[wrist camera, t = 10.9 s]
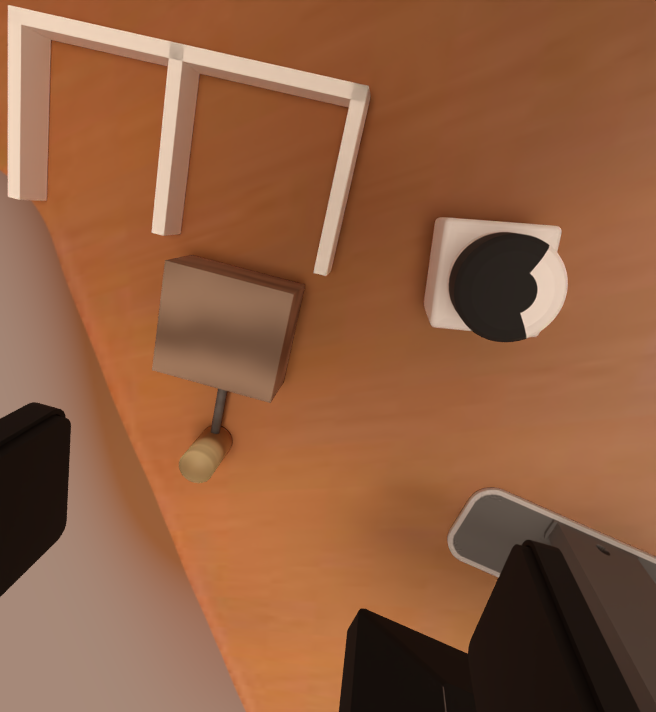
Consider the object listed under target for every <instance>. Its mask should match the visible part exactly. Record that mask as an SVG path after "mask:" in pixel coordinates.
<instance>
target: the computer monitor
mask: <svg viewBox="0 0 656 712" xmlns="http://www.w3.org/2000/svg"><path fill="white" fill-rule="evenodd" d="M525 540H533V541H536V542H540V543H543V544H547V545H551V546H554V547H557V548H559V549H560V551H561V552H562V554H563V556H564V558H565V560H566V562H567V564H568V566H569V568H570V570H571V572H572V574H573V576H574V578H575V580H576V582H577V584H578V586H579V588H580V590H581V592H582V594H583V596H584V598H585V600H586V602H587V604H588V606H589V609H590V611H591V613H592V615H593V617H594V619H595V621H596V623H597V625H598V627H599V629H600V631H601V633H602V635H603V637H604V639H605V641H606V643H607V645H608V647H609V649H610V651H611V653H612V655H613V657H614V659H615V661H616V663H617V665H618V667H619V669H620V671H621V673H622V675H623V677H624V679H625V681H626V683H627V686H628V688H629V690H630V692H631V694H632V696H633V698H634V700H635V702H636V704H637V706H638V708H639V710H640V712H656V556H653V555H651V554H649V553H646V552H644V551H642V550H640V549H637V548H635V547H633V546H630V545H628V544H626V543H624V542H621V541H619V540H617V539H615V538H612V537H610V536H608V535H605V534H603V533H601V532H599V531H596V530H594V529H592V528H589V527H587V526H585V525H583V524H580V523H578V522H576V521H573V520H571V519H569V518H567V517H564V516H562V515H560V514H557V513H555V512H553V511H551V510H548V509H546V508H544V507H542V506H539V505H537V504H535V503H532V502H530V501H528V500H526V499H523V498H521V497H519V496H516V495H514V494H512V493H510V492H507V491H505V490H503V489H500V488H494V487H490V488H484V489H481V490H479V491H477V492H475V493H474V494H473V495H472V496H471V497H470V498H469V500H468V501H467V503H466V505H465V506H464V508H463V509H462V511H461V513H460V514H459V516H458V517H457V519H456V521H455V522H454V524H453V525H452V527H451V529H450V530H449V532H448V536H447V541H448V547H449V549H450V551H451V553H452V554H453V555H454V556H455V557H456V558H457V559H458V560H460V561H462V562H464V563H467V564H469V565H471V566H473V567H476V568H478V569H480V570H483V571H485V572H487V573H489V574H492V575H494V576H496V577H499V576H500V574H501V571H502V569H503V567H504V565H505V562H506V560H507V558H508V556H509V554H510V551H511V549H512V548H513V546H514V545H515V544H519V545H522V544H523V542H524V541H525ZM339 712H477V711H476V705H475V699H474V693H473V687H472V681H471V675H470V669H469V663H468V654H467V653H465V652H462V651H460V650H458V649H456V648H453V647H451V646H449V645H446V644H444V643H442V642H440V641H437V640H435V639H433V638H430V637H428V636H426V635H424V634H421V633H419V632H417V631H414V630H412V629H410V628H408V627H405V626H403V625H401V624H399V623H396V622H394V621H392V620H389V619H387V618H385V617H383V616H380V615H378V614H376V613H373V612H371V611H369V610H367V609H360V610H359V611H358V613H357V615H356V617H355V618H354V620H353V622H352V623H351V625H350V627H349V629H348V631H347V639H346V649H345V659H344V668H343V678H342V687H341V697H340V707H339Z"/></svg>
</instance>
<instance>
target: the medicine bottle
mask: <svg viewBox="0 0 656 712" xmlns="http://www.w3.org/2000/svg"><path fill="white" fill-rule="evenodd" d="M561 233H562V232H561V228H560V227H558V226H553V225H540V224H527V223H513V222H500V221H487V220H474V219H461V218H447V217H439V218H437V219H436V221H435V225H434V232H433V240H432V247H431V254H430V261H429V269H428V276H427V283H426V290H425V297H424V308H425V311H426V313H427V316H428V319H429V322H430V324H431V326H433V327H437V328H446V329H456V330H466V331H473V332H474V333H476V334H477V335H479V336H481V337H483V338H486V339H488V340H492V341H497V342H514V341H520V340H523V339H526V338H529V337H536V336H538V335H539V332H540V331H542V330H543V329H544V328H546V327H547V326H548V325H549V324H550V323H551V322H552V321H553V320H554V319H555V317H556V316H557V315H558V313H559V311H560V310H561V308H562V306H563V303H564V301H565V298H566V294H567V287H568V280H567V272H566V269H565V266H564V263H563V261H562V259H561V257H560V256H559V254H558V253H557V251H558V246H559V242H560V237H561Z"/></svg>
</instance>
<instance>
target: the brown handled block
mask: <svg viewBox="0 0 656 712" xmlns="http://www.w3.org/2000/svg"><path fill="white" fill-rule="evenodd" d="M304 289H305V285H304V284H301V283H297V282H293V281H289V280H285V279H282V278H278V277H274V276H270V275H266V274H262V273H259V272H255V271H251V270H247V269H243V268H240V267H236V266H232V265H228V264H224V263H220V262H217V261H213V260H209V259H205V258H201V257H198V256H194V255H189V256H184V257H179V258H175V259H170V260H165V266H164V275H163V283H162V291H161V300H160V308H159V316H158V325H157V333H156V342H155V350H154V358H153V367H152V370H154V371H157V372H161V373H164V374H168V375H172V376H175V377H179V378H182V379H186V380H190V381H193V382H197V383H200V384H204V385H208V386H211V387H215V388H218V392H217V398H216V404H215V410H214V415H213V421H212V426H210V427H208V428H206V429H205V430H204V431H203V433H202V434H201V435H200V436H199V437H198V438H197V440H196V441H195V442H194V443H193V444H192V445H191V447H190V448H189V449H188V450H187V451H186V452H185V454H184V455H183V456H182V457H181V459H180V461H179V469H180V472H181V473H182V475H183V476H184V477H185V478H186V479H187V480H189V481H191V482H194V483H203V482H206V481H207V480H209V479H210V478H211V476H212V475H213V473H214V472H215V470H216V469H217V467H218V466H219V464H220V463H221V461H222V460H223V459H224V457H225V456H226V454H227V453H228V451H229V450H230V448H231V446H232V437H231V435H230V433H229V432H228V431H227V430H226V429H224V428H223V427H221V422H222V416H223V411H224V405H225V400H226V394H227V391H229V392H233V393H236V394H240V395H244V396H247V397H251V398H255V399H258V400H262V401H265V402H269V403H271V401H272V400H273V398H274V396H275V395H276V393H277V392H278V390H279V389H280V387H281V386H282V384H283V382H284V379H285V374H286V370H287V365H288V361H289V356H290V352H291V347H292V343H293V338H294V334H295V329H296V325H297V320H298V316H299V311H300V307H301V302H302V298H303V293H304Z"/></svg>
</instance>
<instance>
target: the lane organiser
mask: <svg viewBox="0 0 656 712" xmlns="http://www.w3.org/2000/svg"><path fill="white" fill-rule="evenodd" d="M51 40H54V41H58V42H63V43H67V44H71V45H76V46H80V47H85V48H89V49H93V50H98V51H102V52H107V53H111V54H115V55H120V56H124V57H129V58H133V59H137V60H142V61H146V62H150V63H155V64H159V65H164V66H168V71H167V81H166V92H165V102H164V112H163V122H162V132H161V142H160V152H159V162H158V173H157V183H156V193H155V203H154V213H153V223H152V233H155V234H159V235H163V236H165V235H176V234H181V227H182V218H183V210H184V201H185V193H186V185H187V176H188V168H189V159H190V151H191V142H192V134H193V126H194V117H195V109H196V100H197V92H198V83H199V75H200V74H203V75H208V76H212V77H216V78H221V79H225V80H230V81H234V82H238V83H243V84H247V85H252V86H256V87H260V88H265V89H269V90H274V91H278V92H282V93H287V94H291V95H295V96H300V97H304V98H309V99H313V100H317V101H322V102H326V103H331V104H335V105H339V106H344V107H348V108H349V110H348V114H347V119H346V124H345V128H344V133H343V137H342V142H341V147H340V151H339V156H338V161H337V165H336V170H335V175H334V179H333V184H332V189H331V193H330V198H329V203H328V207H327V212H326V216H325V221H324V226H323V230H322V235H321V240H320V244H319V249H318V254H317V258H316V263H315V268H314V272H313V273H316V274H320V275H324V276H327V275H328V274H329V273H330V272H331V269H332V265H333V260H334V256H335V251H336V247H337V243H338V238H339V234H340V229H341V225H342V221H343V216H344V212H345V207H346V203H347V199H348V194H349V190H350V185H351V181H352V177H353V172H354V168H355V163H356V159H357V155H358V150H359V146H360V141H361V137H362V133H363V128H364V124H365V119H366V115H367V111H368V106H369V102H370V98H371V96H370V90H369V86H367V85H362V84H358V83H353V82H349V81H344V80H340V79H335V78H331V77H326V76H322V75H318V74H313V73H309V72H304V71H300V70H295V69H291V68H286V67H282V66H277V65H273V64H268V63H264V62H260V61H255V60H251V59H246V58H242V57H237V56H233V55H228V54H224V53H219V52H215V51H211V50H206V49H202V48H197V47H193V46H188V45H184V44H179V43H175V42H170V41H166V40H162V39H157V38H153V37H148V36H144V35H139V34H135V33H130V32H126V31H121V30H117V29H112V28H108V27H104V26H99V25H95V24H90V23H86V22H81V21H77V20H72V19H68V18H63V17H59V16H55V15H50V14H46V13H41V12H37V11H32V10H28V9H23V8H19V7H14V6H10V5H8V197H11V198H15V199H19V200H40V201H47V173H48V135H49V97H50V59H51Z"/></svg>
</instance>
